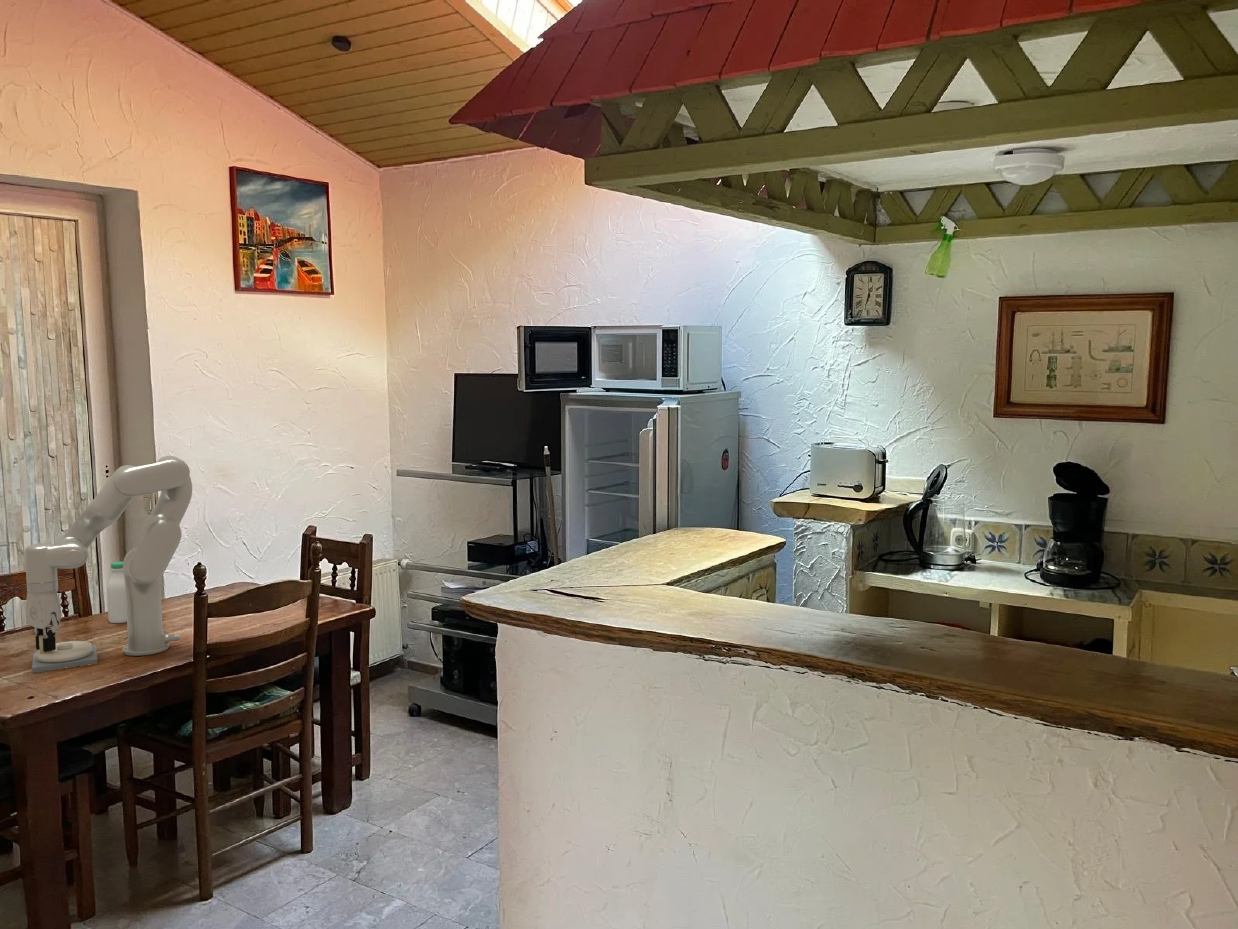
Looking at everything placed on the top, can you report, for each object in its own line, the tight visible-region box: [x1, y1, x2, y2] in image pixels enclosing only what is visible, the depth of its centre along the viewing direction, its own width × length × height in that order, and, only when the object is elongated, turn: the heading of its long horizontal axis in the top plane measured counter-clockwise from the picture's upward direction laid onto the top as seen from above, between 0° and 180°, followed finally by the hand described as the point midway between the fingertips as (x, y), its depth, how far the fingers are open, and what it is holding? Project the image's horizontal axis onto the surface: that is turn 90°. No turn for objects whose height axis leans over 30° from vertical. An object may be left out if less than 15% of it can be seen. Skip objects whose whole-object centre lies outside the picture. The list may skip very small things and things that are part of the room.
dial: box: [36, 634, 93, 662], centre depth 267 cm, size 14×14×7 cm
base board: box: [31, 644, 99, 674], centre depth 268 cm, size 16×16×2 cm
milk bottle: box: [106, 561, 127, 624], centre depth 309 cm, size 8×8×20 cm
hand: (46, 649), depth 264 cm, fingers open, 3 cm apart
